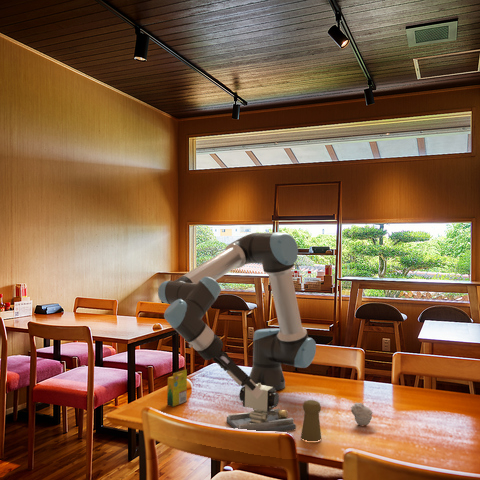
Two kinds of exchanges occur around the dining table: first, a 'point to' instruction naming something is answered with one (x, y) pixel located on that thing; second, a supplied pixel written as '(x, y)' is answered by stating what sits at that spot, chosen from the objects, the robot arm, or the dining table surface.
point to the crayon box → (177, 388)
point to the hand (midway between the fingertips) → (250, 388)
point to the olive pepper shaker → (311, 421)
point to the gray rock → (361, 414)
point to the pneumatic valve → (259, 402)
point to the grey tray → (274, 422)
